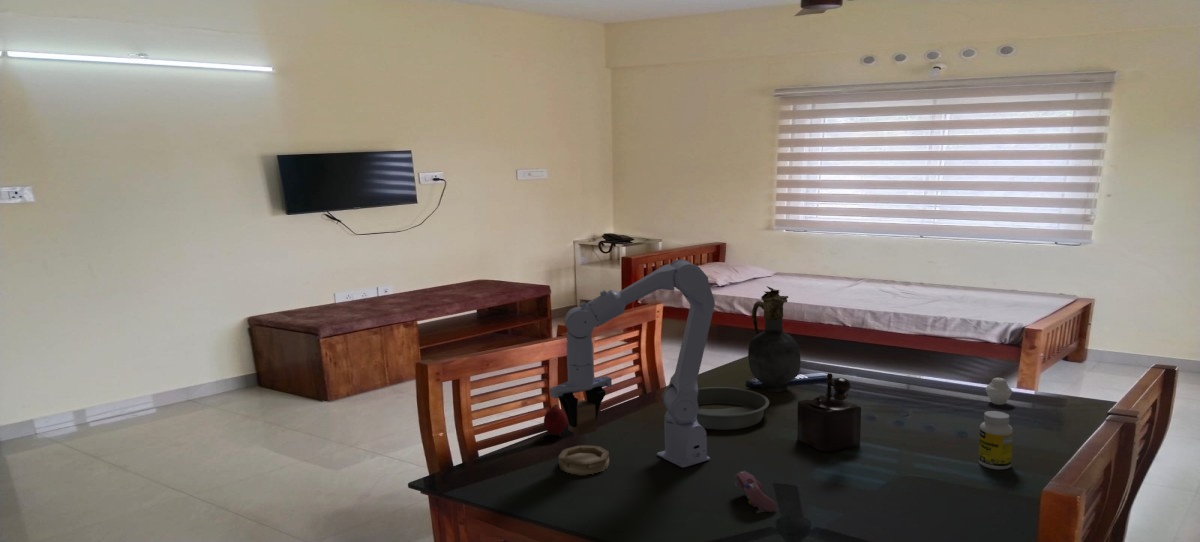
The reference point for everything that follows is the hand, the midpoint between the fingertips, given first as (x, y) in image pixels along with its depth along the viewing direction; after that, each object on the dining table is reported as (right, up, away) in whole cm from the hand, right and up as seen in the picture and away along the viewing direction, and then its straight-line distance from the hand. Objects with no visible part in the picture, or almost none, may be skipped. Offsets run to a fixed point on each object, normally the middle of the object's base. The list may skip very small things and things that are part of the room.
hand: (582, 423), depth 163 cm
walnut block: (0, -2, 0) cm, 2 cm away
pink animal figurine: (+34, -11, -20) cm, 41 cm away
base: (0, -9, +1) cm, 9 cm away
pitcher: (+54, -1, +54) cm, 76 cm away
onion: (-7, -7, +20) cm, 22 cm away
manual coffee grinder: (+58, -7, +7) cm, 58 cm away
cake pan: (+35, -5, +31) cm, 47 cm away
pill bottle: (+87, -8, -6) cm, 88 cm away
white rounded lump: (+109, -2, +33) cm, 114 cm away
